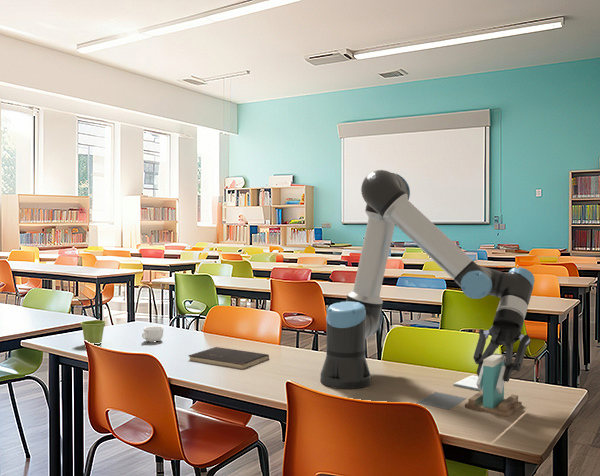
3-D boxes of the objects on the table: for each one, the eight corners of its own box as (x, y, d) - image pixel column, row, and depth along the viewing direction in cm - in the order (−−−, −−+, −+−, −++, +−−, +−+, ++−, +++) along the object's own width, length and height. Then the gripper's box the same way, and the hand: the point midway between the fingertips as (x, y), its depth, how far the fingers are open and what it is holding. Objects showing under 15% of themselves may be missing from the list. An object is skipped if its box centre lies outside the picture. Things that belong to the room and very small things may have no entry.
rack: (480, 398, 151) (480, 388, 151) (521, 406, 145) (521, 396, 145) (464, 408, 143) (465, 398, 143) (508, 418, 136) (508, 407, 136)
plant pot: (88, 341, 221) (88, 319, 221) (110, 342, 220) (110, 320, 219) (75, 346, 212) (75, 323, 211) (98, 347, 210) (98, 324, 210)
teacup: (153, 338, 227) (153, 325, 227) (167, 340, 224) (167, 327, 224) (135, 343, 219) (135, 329, 219) (149, 345, 215) (149, 331, 215)
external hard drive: (453, 388, 162) (471, 379, 171) (480, 394, 157) (497, 384, 166) (453, 383, 162) (471, 374, 171) (480, 388, 157) (497, 379, 166)
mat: (435, 393, 156) (435, 391, 156) (466, 399, 150) (466, 398, 150) (416, 403, 146) (416, 402, 146) (449, 411, 141) (449, 409, 141)
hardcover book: (242, 370, 180) (242, 363, 180) (188, 361, 192) (188, 355, 191) (269, 360, 194) (269, 354, 194) (216, 352, 205) (216, 346, 205)
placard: (494, 397, 148) (494, 353, 148) (503, 399, 146) (504, 354, 146) (482, 406, 141) (483, 359, 141) (492, 408, 139) (493, 361, 139)
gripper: (545, 327, 150) (527, 403, 137) (482, 320, 161) (459, 390, 148) (540, 310, 146) (521, 387, 133) (476, 304, 156) (452, 374, 144)
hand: (488, 388), depth 141 cm, fingers open, 4 cm apart
